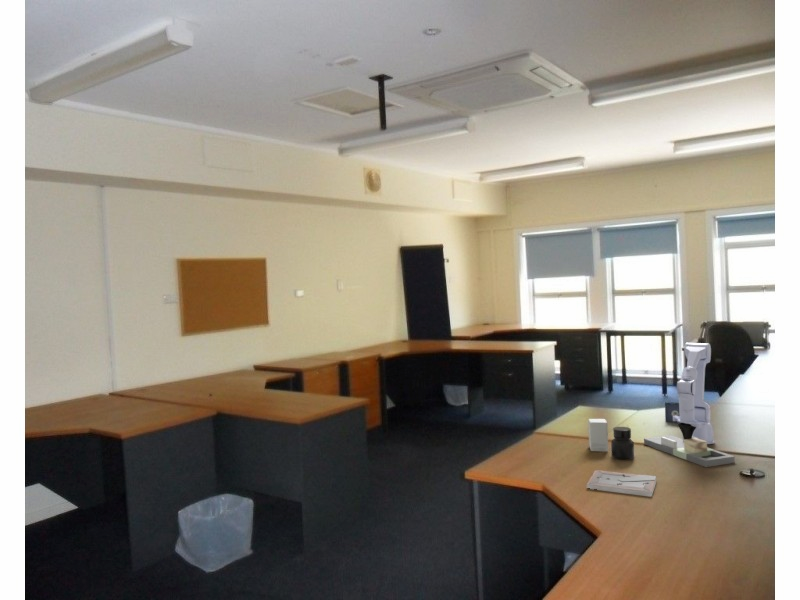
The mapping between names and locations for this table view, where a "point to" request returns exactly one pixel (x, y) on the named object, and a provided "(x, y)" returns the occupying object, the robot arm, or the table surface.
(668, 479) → the table surface
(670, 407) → the vhs cassette tape
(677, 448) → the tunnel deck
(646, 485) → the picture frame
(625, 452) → the ink bottle
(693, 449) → the birch block
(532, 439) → the table surface
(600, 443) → the supplement box
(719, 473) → the table surface
